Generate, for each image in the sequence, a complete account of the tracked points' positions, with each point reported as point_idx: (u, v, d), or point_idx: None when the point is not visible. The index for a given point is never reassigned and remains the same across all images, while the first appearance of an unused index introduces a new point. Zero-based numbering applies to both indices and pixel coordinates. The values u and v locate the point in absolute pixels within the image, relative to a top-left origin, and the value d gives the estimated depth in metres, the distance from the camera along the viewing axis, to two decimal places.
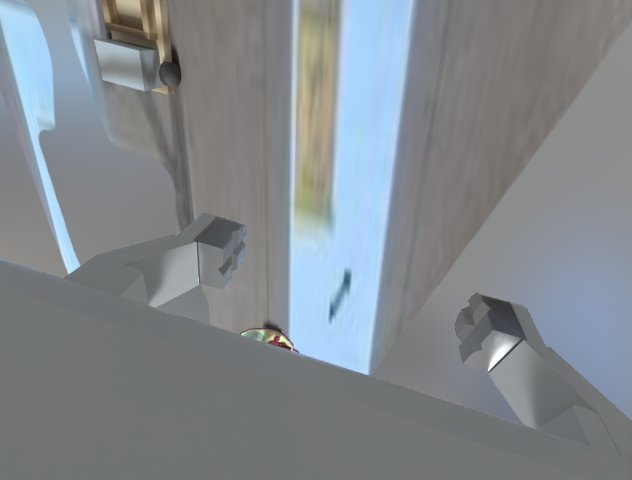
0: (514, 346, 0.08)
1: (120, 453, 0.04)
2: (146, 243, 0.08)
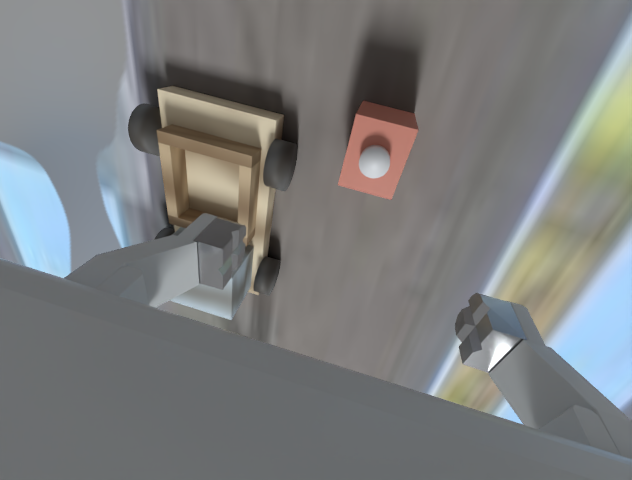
0: (514, 346, 0.08)
1: (119, 452, 0.04)
2: (146, 243, 0.08)
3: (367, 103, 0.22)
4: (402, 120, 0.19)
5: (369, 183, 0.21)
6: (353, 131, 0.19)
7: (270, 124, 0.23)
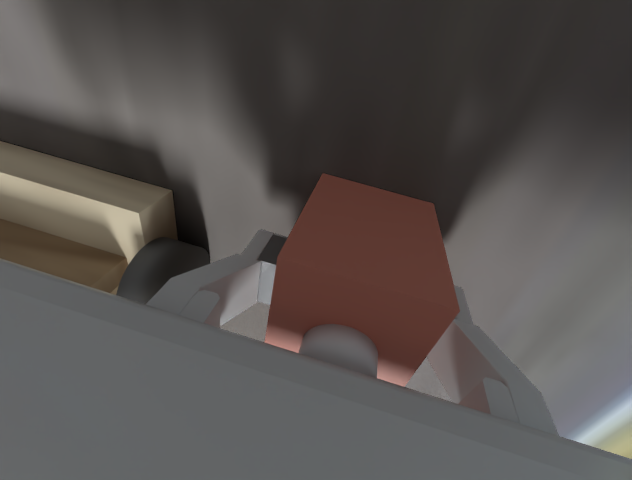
0: None
1: (119, 454, 0.04)
2: (214, 264, 0.08)
3: (329, 184, 0.10)
4: (410, 255, 0.07)
5: None
6: (277, 292, 0.07)
7: (129, 219, 0.11)
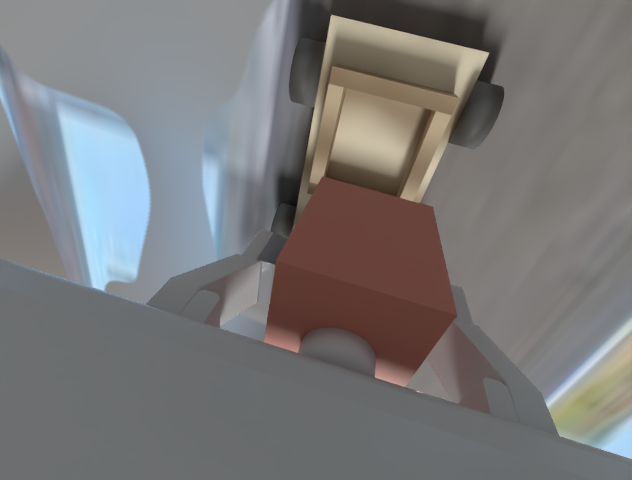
0: None
1: (120, 453, 0.04)
2: (214, 264, 0.08)
3: (329, 188, 0.10)
4: (408, 259, 0.07)
5: None
6: (275, 295, 0.07)
7: (478, 59, 0.18)
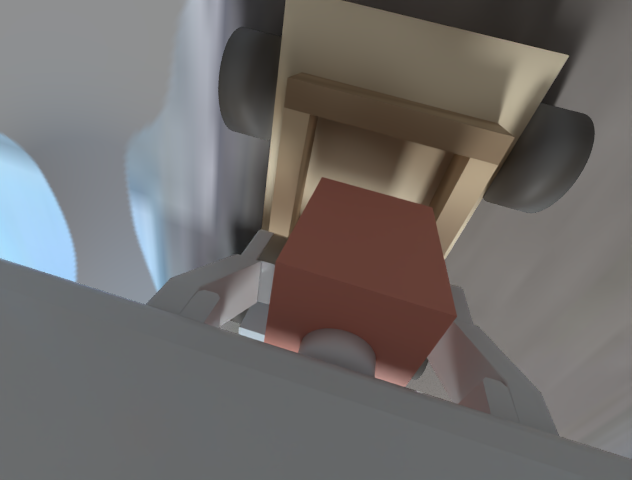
0: None
1: (120, 453, 0.04)
2: (214, 264, 0.08)
3: (329, 188, 0.10)
4: (408, 260, 0.07)
5: None
6: (275, 296, 0.07)
7: (548, 66, 0.10)
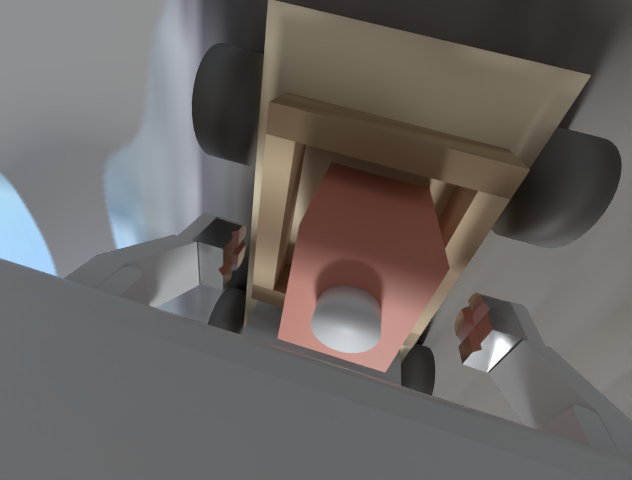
0: (514, 346, 0.08)
1: (120, 453, 0.04)
2: (146, 243, 0.08)
3: (338, 171, 0.11)
4: (409, 227, 0.09)
5: None
6: (297, 257, 0.08)
7: (566, 87, 0.09)
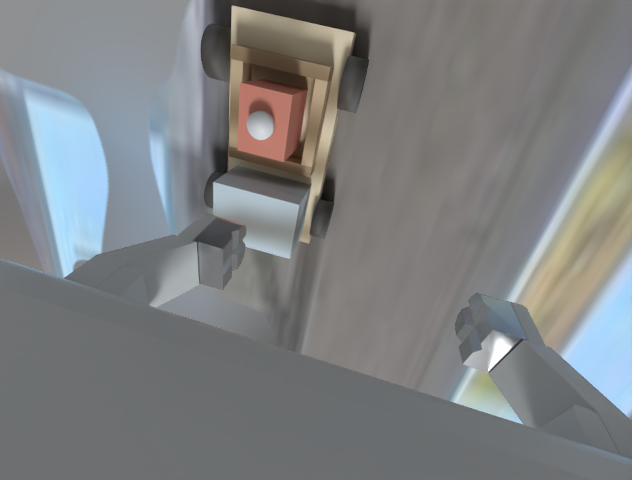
0: (514, 346, 0.08)
1: (120, 453, 0.04)
2: (146, 243, 0.08)
3: (265, 80, 0.25)
4: (285, 90, 0.22)
5: (262, 147, 0.24)
6: (240, 98, 0.22)
7: (347, 37, 0.23)
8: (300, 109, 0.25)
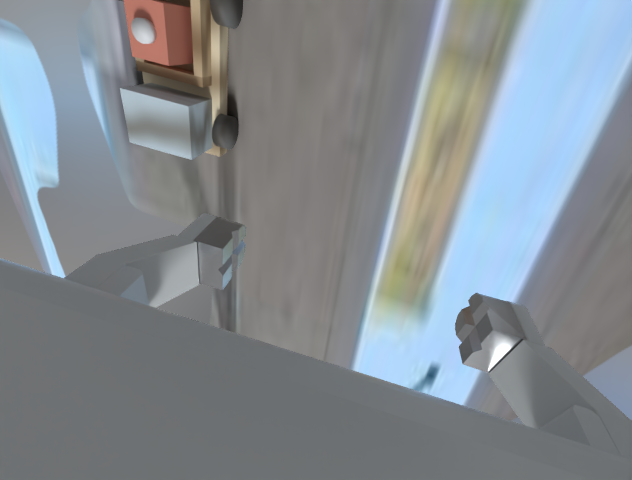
0: (514, 346, 0.08)
1: (119, 453, 0.04)
2: (146, 243, 0.08)
3: None
4: (163, 2, 0.28)
5: (150, 52, 0.29)
6: (126, 8, 0.27)
7: None
8: (185, 23, 0.30)
